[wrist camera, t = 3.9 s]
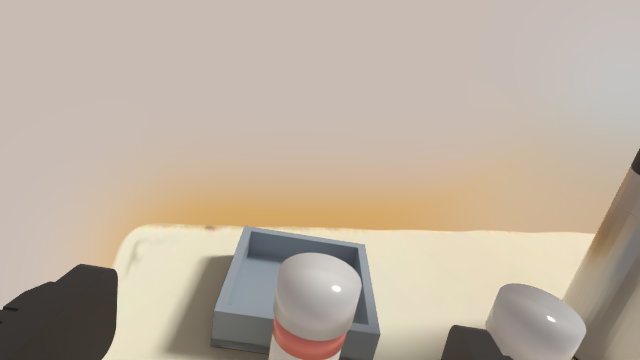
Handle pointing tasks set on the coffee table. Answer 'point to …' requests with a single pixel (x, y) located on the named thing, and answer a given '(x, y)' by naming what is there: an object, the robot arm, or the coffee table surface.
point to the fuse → (534, 324)
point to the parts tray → (260, 284)
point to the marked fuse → (313, 307)
